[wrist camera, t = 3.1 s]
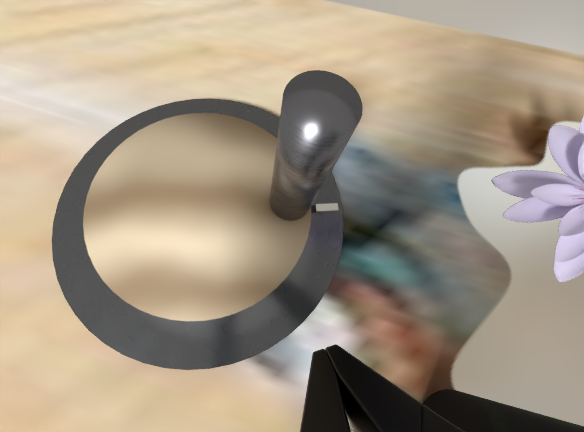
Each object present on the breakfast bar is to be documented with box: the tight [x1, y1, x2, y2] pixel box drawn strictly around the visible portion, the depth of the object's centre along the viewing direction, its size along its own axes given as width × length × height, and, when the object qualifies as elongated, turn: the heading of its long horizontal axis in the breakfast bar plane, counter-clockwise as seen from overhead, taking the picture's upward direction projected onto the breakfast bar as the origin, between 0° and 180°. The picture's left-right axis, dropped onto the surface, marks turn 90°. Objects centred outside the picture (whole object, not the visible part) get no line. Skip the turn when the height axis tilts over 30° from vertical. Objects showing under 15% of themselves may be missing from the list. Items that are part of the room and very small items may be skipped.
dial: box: [83, 70, 362, 321], centre depth 15 cm, size 15×15×12 cm
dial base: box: [52, 99, 344, 370], centre depth 21 cm, size 21×21×1 cm
